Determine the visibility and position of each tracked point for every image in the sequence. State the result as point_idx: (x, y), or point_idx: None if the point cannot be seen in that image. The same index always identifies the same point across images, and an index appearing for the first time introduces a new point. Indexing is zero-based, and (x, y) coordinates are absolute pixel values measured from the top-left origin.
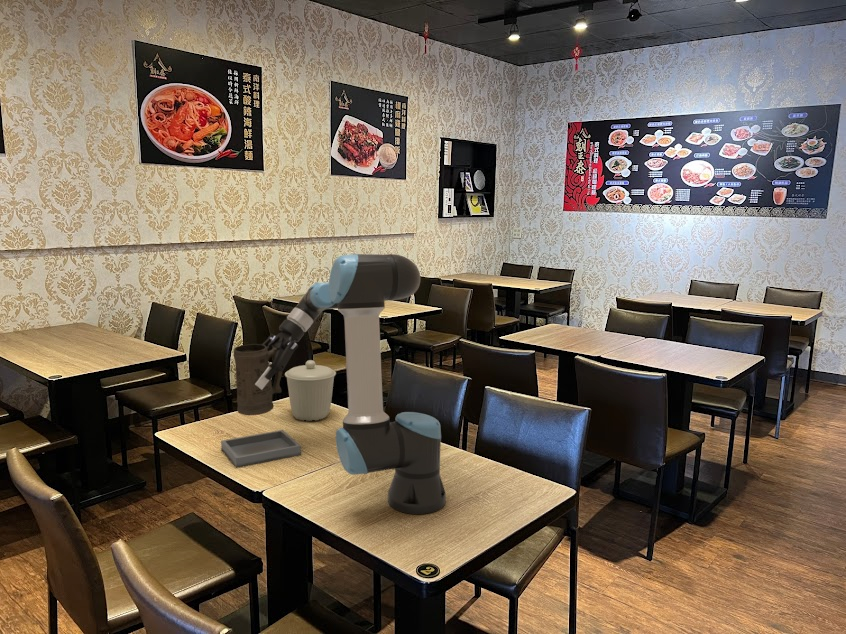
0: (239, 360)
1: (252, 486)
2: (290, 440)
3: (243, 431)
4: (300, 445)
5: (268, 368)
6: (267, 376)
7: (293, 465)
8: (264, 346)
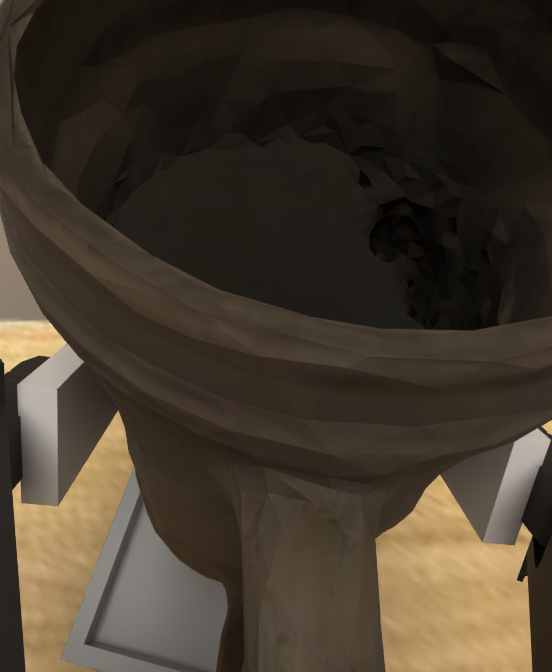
0: (264, 54)
1: (13, 331)
2: (171, 668)
3: (510, 611)
4: (64, 658)
5: (33, 374)
6: (24, 362)
7: (17, 543)
8: (294, 322)
